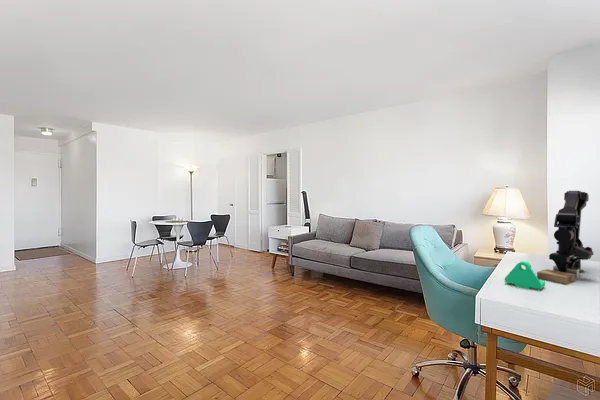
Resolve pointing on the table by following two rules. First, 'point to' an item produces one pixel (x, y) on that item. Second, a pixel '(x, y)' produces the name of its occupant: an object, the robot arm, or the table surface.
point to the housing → (569, 270)
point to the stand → (556, 276)
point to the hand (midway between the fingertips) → (566, 274)
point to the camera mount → (524, 277)
